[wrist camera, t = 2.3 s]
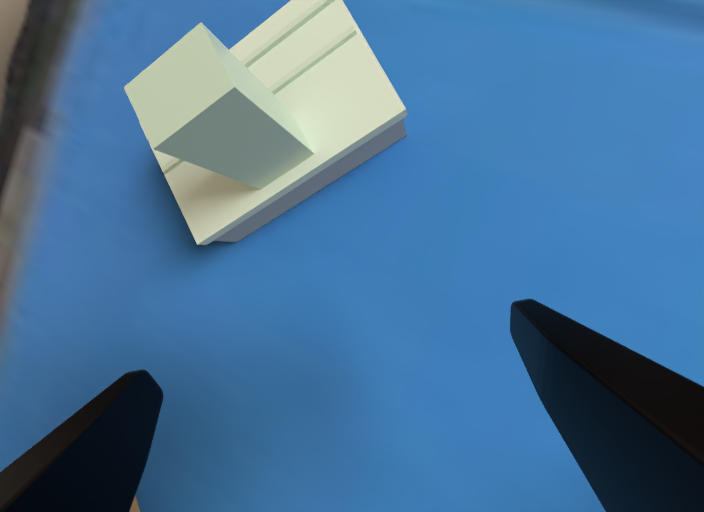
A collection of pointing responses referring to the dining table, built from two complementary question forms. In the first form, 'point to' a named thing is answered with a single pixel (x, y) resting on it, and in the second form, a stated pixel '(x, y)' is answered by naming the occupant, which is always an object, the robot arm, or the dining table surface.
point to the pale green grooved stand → (260, 110)
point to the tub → (317, 182)
